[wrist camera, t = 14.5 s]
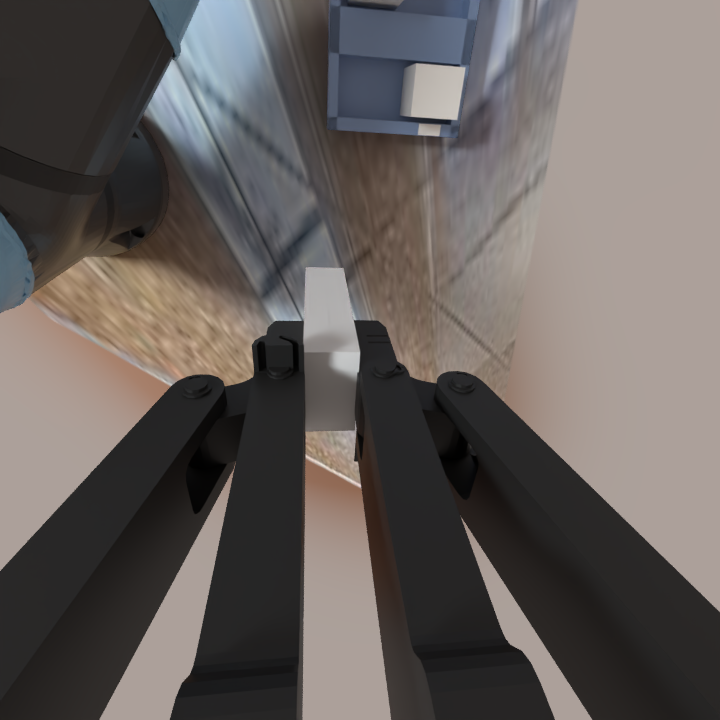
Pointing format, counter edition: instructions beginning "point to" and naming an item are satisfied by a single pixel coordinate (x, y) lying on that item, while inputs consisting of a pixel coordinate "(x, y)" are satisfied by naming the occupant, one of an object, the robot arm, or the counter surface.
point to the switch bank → (393, 61)
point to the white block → (432, 91)
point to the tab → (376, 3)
